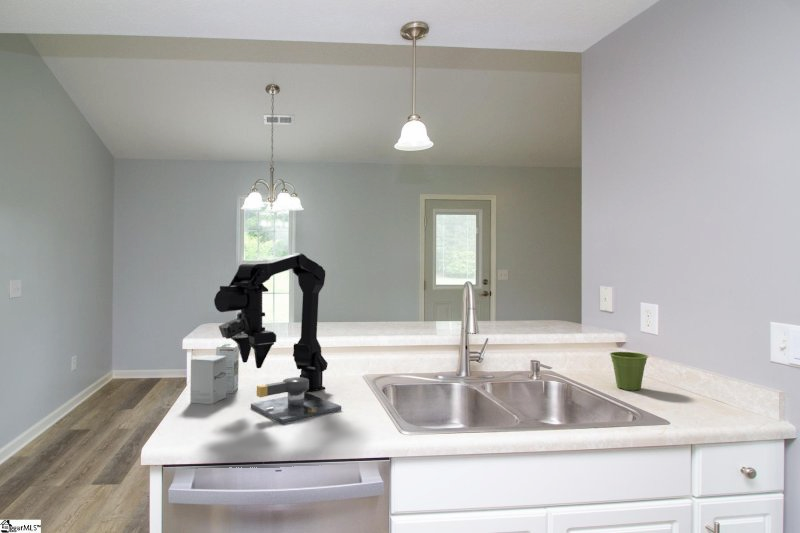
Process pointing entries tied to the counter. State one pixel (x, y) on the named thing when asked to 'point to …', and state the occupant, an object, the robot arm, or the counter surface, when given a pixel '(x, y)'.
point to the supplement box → (208, 379)
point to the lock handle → (284, 387)
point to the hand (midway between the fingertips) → (251, 365)
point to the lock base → (295, 407)
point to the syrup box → (230, 365)
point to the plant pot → (628, 369)
